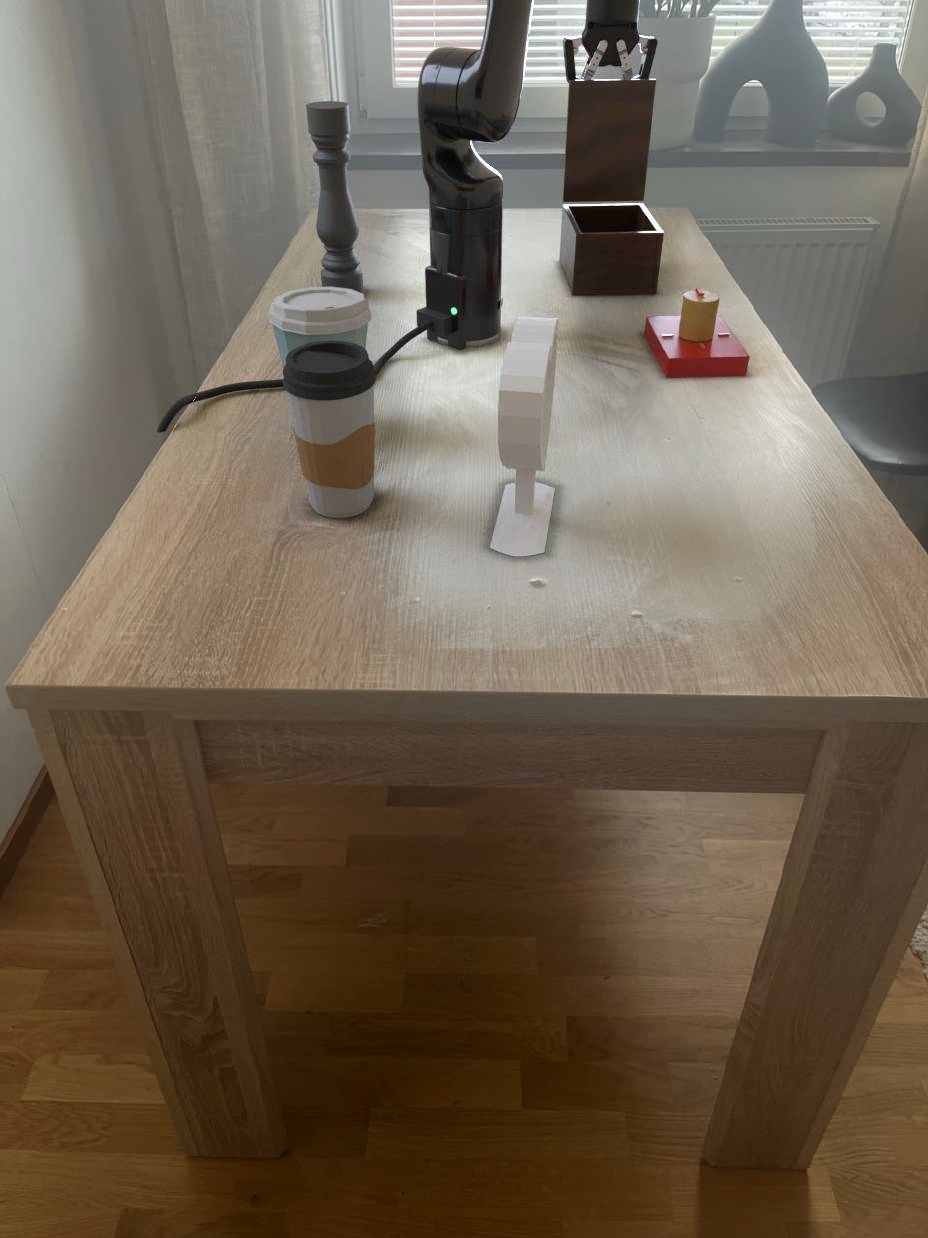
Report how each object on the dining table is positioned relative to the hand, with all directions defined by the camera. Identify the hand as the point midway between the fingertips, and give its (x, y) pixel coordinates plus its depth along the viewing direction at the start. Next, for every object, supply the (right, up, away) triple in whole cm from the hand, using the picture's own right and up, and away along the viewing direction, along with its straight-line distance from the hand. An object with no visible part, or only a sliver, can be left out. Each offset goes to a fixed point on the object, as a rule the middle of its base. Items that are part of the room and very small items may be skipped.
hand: (604, 116), depth 141 cm
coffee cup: (-33, -65, -50) cm, 89 cm away
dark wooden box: (+1, -24, +2) cm, 24 cm away
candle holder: (-39, -28, -3) cm, 49 cm away
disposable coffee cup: (-36, -55, -37) cm, 76 cm away
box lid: (0, -5, -3) cm, 6 cm away
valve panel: (+8, -42, -21) cm, 48 cm away
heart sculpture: (-16, -67, -52) cm, 86 cm away
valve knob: (+8, -40, -23) cm, 47 cm away
